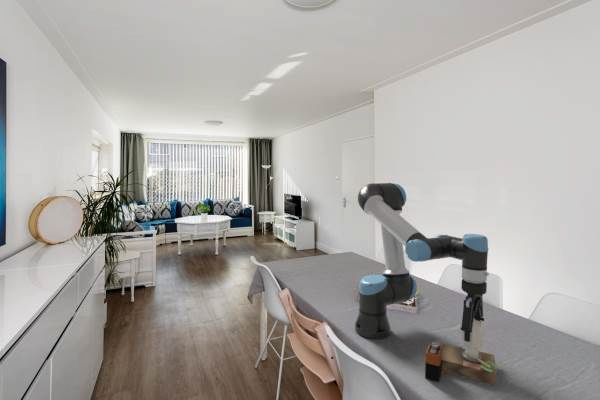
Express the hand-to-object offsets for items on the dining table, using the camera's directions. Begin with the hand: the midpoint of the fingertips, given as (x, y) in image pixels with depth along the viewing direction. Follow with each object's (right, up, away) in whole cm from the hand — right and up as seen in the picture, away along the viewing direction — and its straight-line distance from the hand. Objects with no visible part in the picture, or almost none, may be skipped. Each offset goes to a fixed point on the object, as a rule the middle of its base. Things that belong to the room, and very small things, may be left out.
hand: (472, 343), depth 110 cm
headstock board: (-3, -9, +2) cm, 10 cm away
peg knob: (+1, -5, -1) cm, 5 cm away
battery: (-15, -10, -3) cm, 18 cm away
